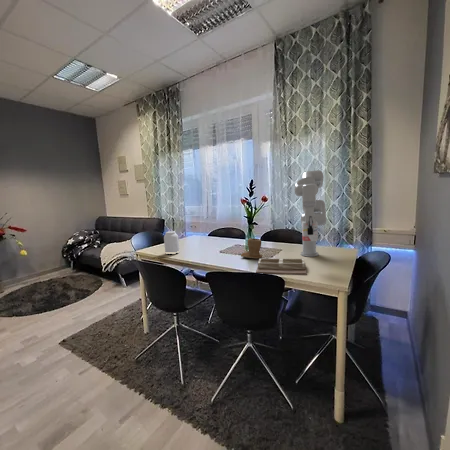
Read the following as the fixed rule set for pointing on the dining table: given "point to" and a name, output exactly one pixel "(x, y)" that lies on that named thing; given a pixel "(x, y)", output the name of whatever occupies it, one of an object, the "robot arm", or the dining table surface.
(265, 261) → the wooden frame
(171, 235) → the white jar
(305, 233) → the ink cartridge box
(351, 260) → the dining table surface
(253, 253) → the brown boots
